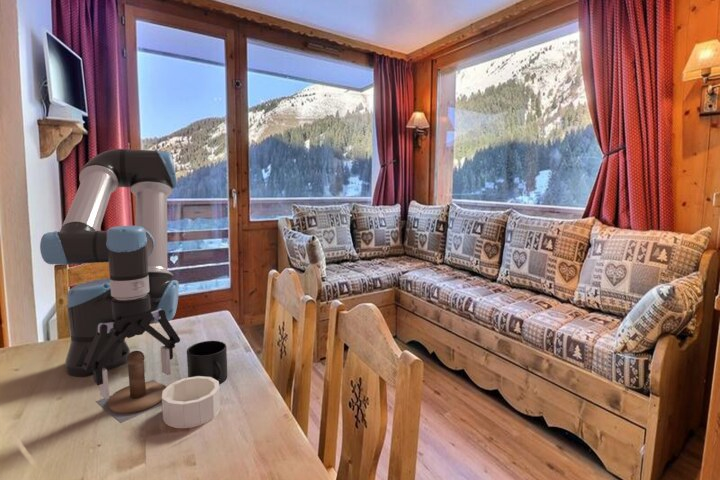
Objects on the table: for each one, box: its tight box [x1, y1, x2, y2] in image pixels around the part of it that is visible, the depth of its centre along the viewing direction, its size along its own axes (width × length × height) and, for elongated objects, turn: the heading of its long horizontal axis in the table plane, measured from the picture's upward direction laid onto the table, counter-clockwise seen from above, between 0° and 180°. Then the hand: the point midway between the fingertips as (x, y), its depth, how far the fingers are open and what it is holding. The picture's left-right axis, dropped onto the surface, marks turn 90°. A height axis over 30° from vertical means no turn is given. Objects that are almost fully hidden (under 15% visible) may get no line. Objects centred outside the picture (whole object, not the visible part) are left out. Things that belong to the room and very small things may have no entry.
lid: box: [108, 350, 167, 414], centre depth 92 cm, size 12×12×12 cm
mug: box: [186, 340, 228, 386], centre depth 102 cm, size 9×12×9 cm
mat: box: [95, 379, 162, 424], centre depth 93 cm, size 13×13×1 cm
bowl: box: [161, 376, 221, 429], centre depth 88 cm, size 12×12×6 cm
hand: (137, 384), depth 93 cm, fingers open, 13 cm apart
